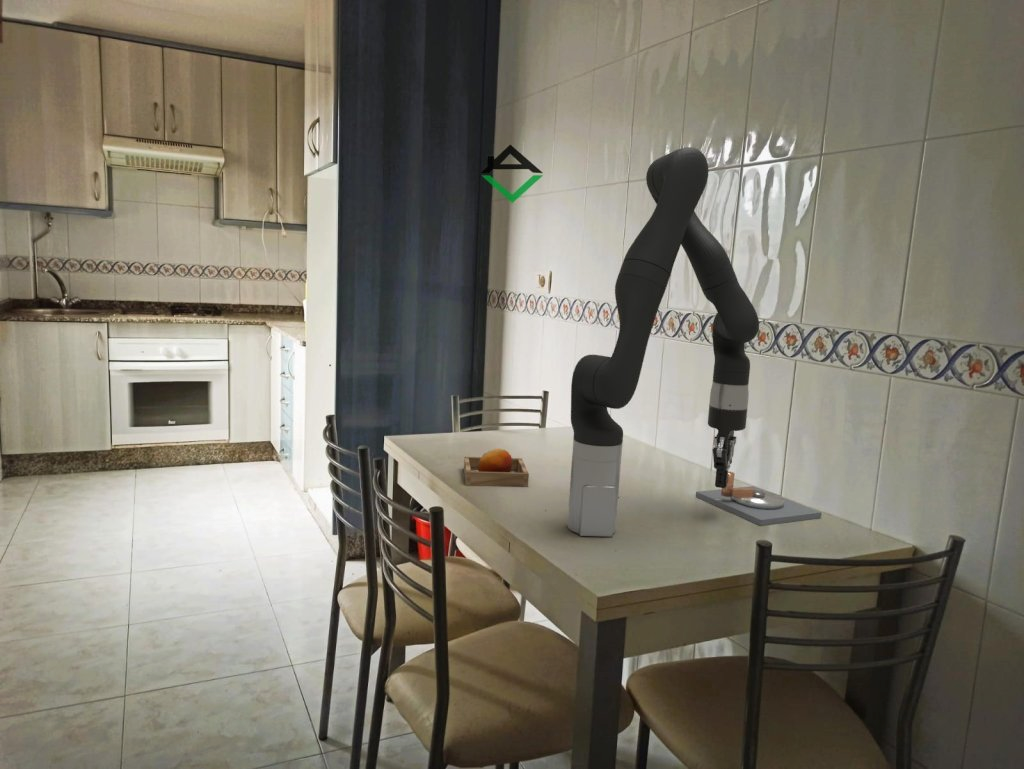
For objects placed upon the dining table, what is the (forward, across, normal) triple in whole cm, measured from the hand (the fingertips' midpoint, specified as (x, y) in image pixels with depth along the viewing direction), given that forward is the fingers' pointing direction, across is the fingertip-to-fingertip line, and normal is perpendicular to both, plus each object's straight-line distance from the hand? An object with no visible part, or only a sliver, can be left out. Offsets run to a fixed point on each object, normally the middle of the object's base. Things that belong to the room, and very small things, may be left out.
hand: (720, 486), depth 155 cm
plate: (+6, +11, -6) cm, 14 cm away
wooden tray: (+6, -3, +51) cm, 51 cm away
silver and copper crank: (+5, +10, -5) cm, 12 cm away
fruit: (+6, -3, +51) cm, 51 cm away
